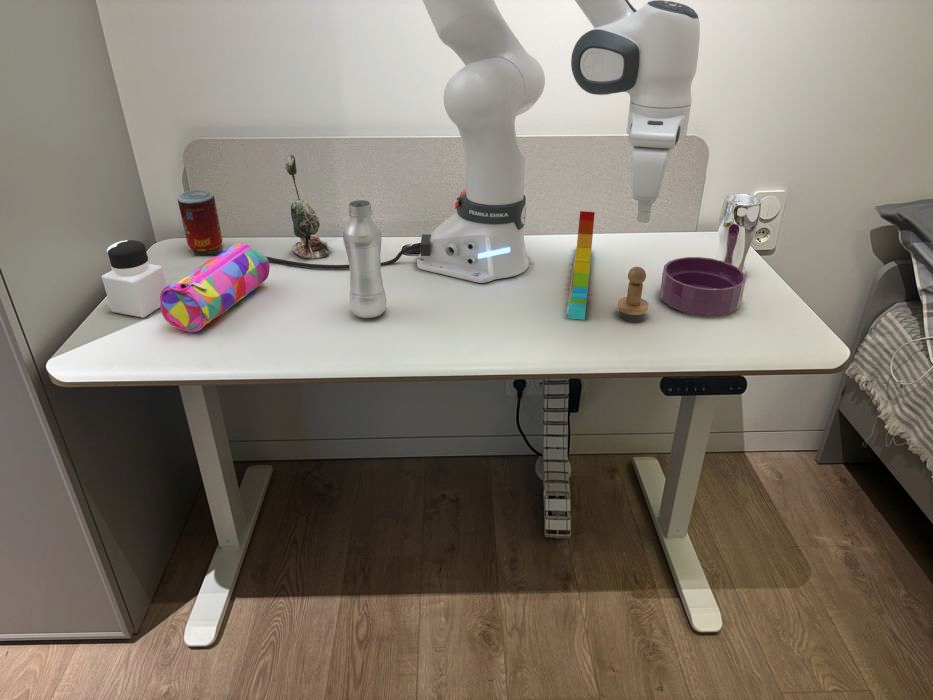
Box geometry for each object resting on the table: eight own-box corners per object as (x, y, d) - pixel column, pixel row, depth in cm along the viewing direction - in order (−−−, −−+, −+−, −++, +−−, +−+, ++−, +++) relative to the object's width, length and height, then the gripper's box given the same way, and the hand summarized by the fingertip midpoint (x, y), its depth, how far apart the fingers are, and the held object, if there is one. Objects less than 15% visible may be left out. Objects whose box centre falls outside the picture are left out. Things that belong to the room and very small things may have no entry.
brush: (614, 320, 120) (620, 271, 115) (618, 307, 124) (624, 259, 119) (645, 325, 118) (652, 275, 114) (647, 311, 123) (655, 263, 118)
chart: (575, 251, 146) (581, 181, 138) (590, 252, 146) (597, 181, 138) (566, 318, 120) (572, 237, 113) (584, 320, 120) (592, 238, 112)
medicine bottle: (171, 301, 127) (156, 239, 120) (143, 318, 121) (126, 254, 115) (139, 295, 129) (123, 234, 122) (110, 312, 123) (92, 249, 117)
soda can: (188, 246, 149) (176, 190, 143) (222, 241, 151) (212, 186, 145) (189, 258, 143) (177, 200, 137) (225, 253, 145) (214, 196, 139)
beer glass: (749, 282, 133) (766, 206, 125) (711, 279, 134) (725, 203, 126) (744, 267, 139) (760, 194, 131) (707, 264, 140) (721, 192, 132)
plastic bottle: (358, 325, 118) (347, 213, 108) (345, 309, 124) (333, 200, 113) (393, 317, 121) (386, 206, 111) (379, 302, 126) (371, 194, 116)
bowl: (656, 312, 123) (660, 283, 120) (662, 279, 134) (666, 253, 131) (740, 323, 119) (746, 294, 116) (739, 289, 130) (745, 262, 127)
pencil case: (208, 341, 114) (197, 291, 109) (159, 332, 116) (147, 284, 112) (276, 286, 132) (269, 241, 127) (233, 279, 134) (225, 235, 130)
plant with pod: (285, 264, 141) (271, 166, 130) (297, 243, 150) (284, 150, 140) (325, 264, 141) (314, 166, 130) (334, 242, 150) (324, 149, 140)
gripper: (643, 107, 114) (633, 189, 121) (628, 136, 97) (618, 230, 104) (683, 109, 112) (671, 193, 119) (675, 139, 95) (661, 235, 102)
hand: (646, 211), depth 111 cm, fingers open, 8 cm apart
